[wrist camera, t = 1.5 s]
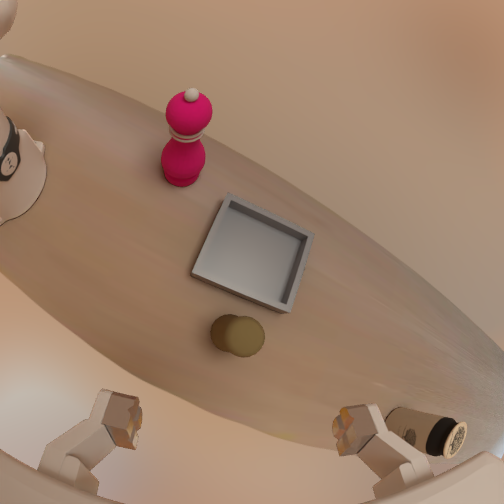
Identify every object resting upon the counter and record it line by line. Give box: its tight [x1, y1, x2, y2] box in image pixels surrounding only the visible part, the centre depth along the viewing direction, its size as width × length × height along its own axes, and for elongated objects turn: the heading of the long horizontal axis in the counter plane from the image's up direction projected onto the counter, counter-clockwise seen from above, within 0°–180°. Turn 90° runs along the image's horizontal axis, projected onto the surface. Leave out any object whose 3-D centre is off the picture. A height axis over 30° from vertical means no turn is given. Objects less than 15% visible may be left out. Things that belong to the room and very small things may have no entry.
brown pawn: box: [211, 314, 265, 357], centre depth 37 cm, size 6×6×11 cm
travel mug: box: [385, 407, 467, 459], centre depth 38 cm, size 8×8×18 cm
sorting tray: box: [191, 193, 315, 314], centre depth 45 cm, size 16×14×4 cm
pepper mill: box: [161, 88, 212, 187], centre depth 37 cm, size 7×7×20 cm
